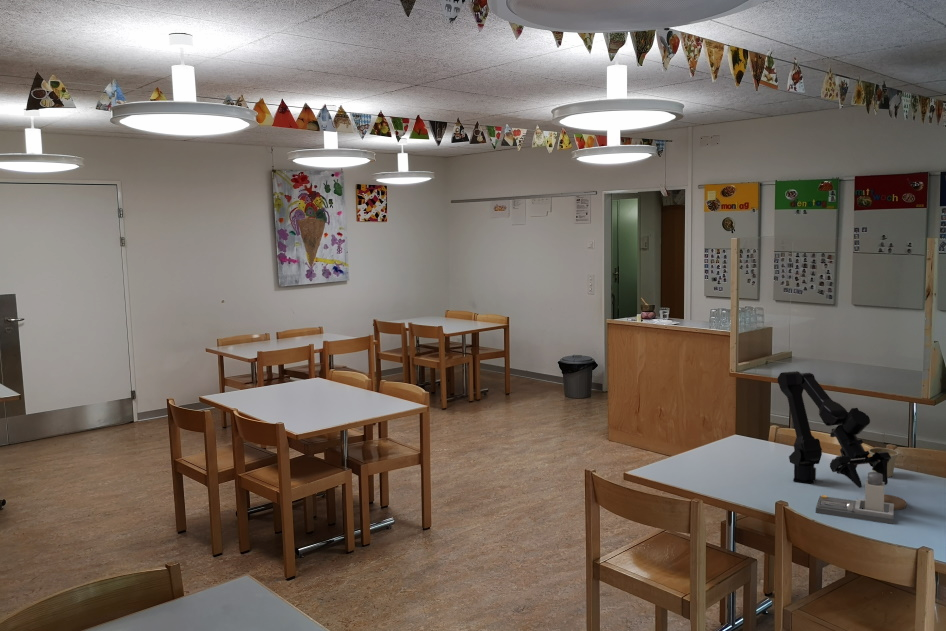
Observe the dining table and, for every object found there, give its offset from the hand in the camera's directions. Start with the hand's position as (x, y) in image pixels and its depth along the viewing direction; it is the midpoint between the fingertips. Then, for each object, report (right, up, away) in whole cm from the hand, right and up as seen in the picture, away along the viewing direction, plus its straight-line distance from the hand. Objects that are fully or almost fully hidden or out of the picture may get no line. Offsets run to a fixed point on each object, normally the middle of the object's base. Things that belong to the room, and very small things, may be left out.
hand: (873, 485), depth 231 cm
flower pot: (+23, -5, +37) cm, 44 cm away
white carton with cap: (0, -9, 0) cm, 9 cm away
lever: (-11, -9, +2) cm, 14 cm away
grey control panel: (-4, -9, +3) cm, 10 cm away
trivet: (+9, -8, +9) cm, 15 cm away
